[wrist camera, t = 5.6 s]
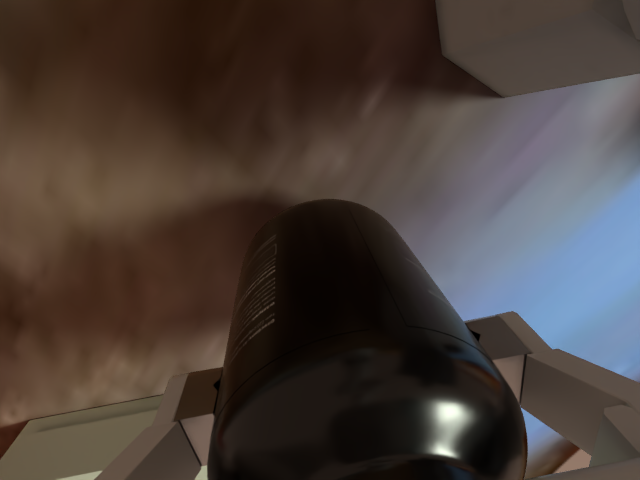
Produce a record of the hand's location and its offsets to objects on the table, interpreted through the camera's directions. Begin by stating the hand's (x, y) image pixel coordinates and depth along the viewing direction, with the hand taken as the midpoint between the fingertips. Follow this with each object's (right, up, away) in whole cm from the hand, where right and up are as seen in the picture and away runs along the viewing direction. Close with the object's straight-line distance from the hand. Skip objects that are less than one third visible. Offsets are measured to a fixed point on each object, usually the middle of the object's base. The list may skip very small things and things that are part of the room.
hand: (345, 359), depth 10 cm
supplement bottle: (-1, +2, +5) cm, 5 cm away
